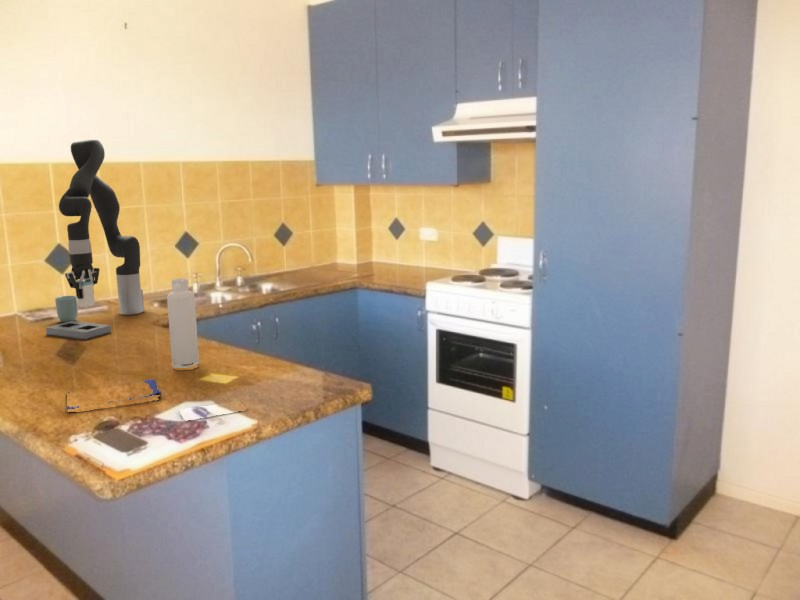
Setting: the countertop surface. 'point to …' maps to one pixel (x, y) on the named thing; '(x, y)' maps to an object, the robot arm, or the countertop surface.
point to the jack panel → (78, 330)
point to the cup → (67, 308)
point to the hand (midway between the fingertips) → (85, 297)
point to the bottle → (182, 325)
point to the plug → (86, 295)
